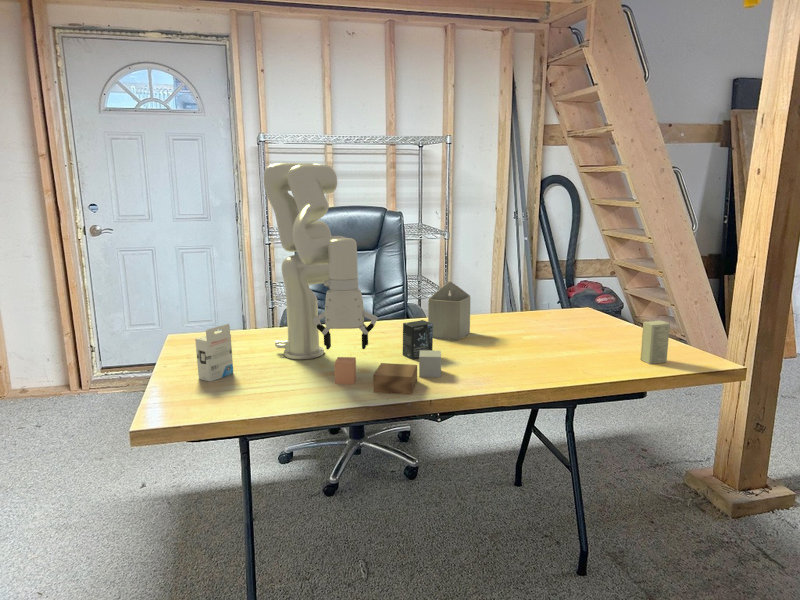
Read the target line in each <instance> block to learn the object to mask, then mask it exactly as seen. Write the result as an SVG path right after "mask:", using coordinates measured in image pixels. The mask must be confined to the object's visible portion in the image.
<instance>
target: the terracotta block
mask: <svg viewBox="0 0 800 600" xmlns="http://www.w3.org/2000/svg"><path fill="white" fill-rule="evenodd" d="M356 379H357V358H356V357H354V356H350V357H348V356H338V357H337V358H336V360H335V361H334V381H335V382H334V384H336V385H354V384H355V382H356Z"/></svg>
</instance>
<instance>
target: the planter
mask: <svg viewBox="0 0 800 600" xmlns="http://www.w3.org/2000/svg"><path fill="white" fill-rule="evenodd" d="M449 294H450V295H449ZM427 302H428V303H427V307H428V309H427V310H428V311H427V314H428V315H427V322H430V323H433V339H441V340H450V341H451V340H453V341H460V340H461V339H463V338H465V337H467V336H468V335H469V334H470V333H471V295H470V294H469V293H467V292H466V291H465V290H463V289H462V288H461V287H459V286H458V285H457V284H455V283H453V282H452V281H450V280H449V281H448V282H446V283H445V284H444V285H442V287H440V288H439V289H438V290H437V291H435V293H433V294H432V296H430V297H429V298H428V301H427Z"/></svg>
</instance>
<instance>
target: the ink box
mask: <svg viewBox="0 0 800 600" xmlns="http://www.w3.org/2000/svg"><path fill="white" fill-rule="evenodd" d="M218 330H219V331H218ZM194 341H195V348H196V349H195V351H196V362H197V363H196V364H197V375H198V380H202V381H206V382H208V383H209V382H211V383H212V382H214V381H216V380H218V379H219V380H220V379H222V378H224V377H227V376H230V375H232V374H234V363H233V362H234V361H233V349H232V347H233V346H232V334H231V327H230V324H229V323H226V324H223V325H219V326H215V327H212V328H207V329H206V330H205V335H204V336H201V337H196V338H195V339H194Z"/></svg>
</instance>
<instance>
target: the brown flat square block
mask: <svg viewBox="0 0 800 600" xmlns="http://www.w3.org/2000/svg"><path fill="white" fill-rule="evenodd" d="M372 379H373V380H372V384H373V385H372V387H373V388H372V389H373V393H377V394H379V393H380V394H397V395H413V393H414V390H415V387H416V385H417V383H418V364H409V363H408V364H407V363H405V364H404V363H388V362H386V363H385V362H380V364H379V366H378V367H377V368H376V370H375V371H374V373H373V374H372Z"/></svg>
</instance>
